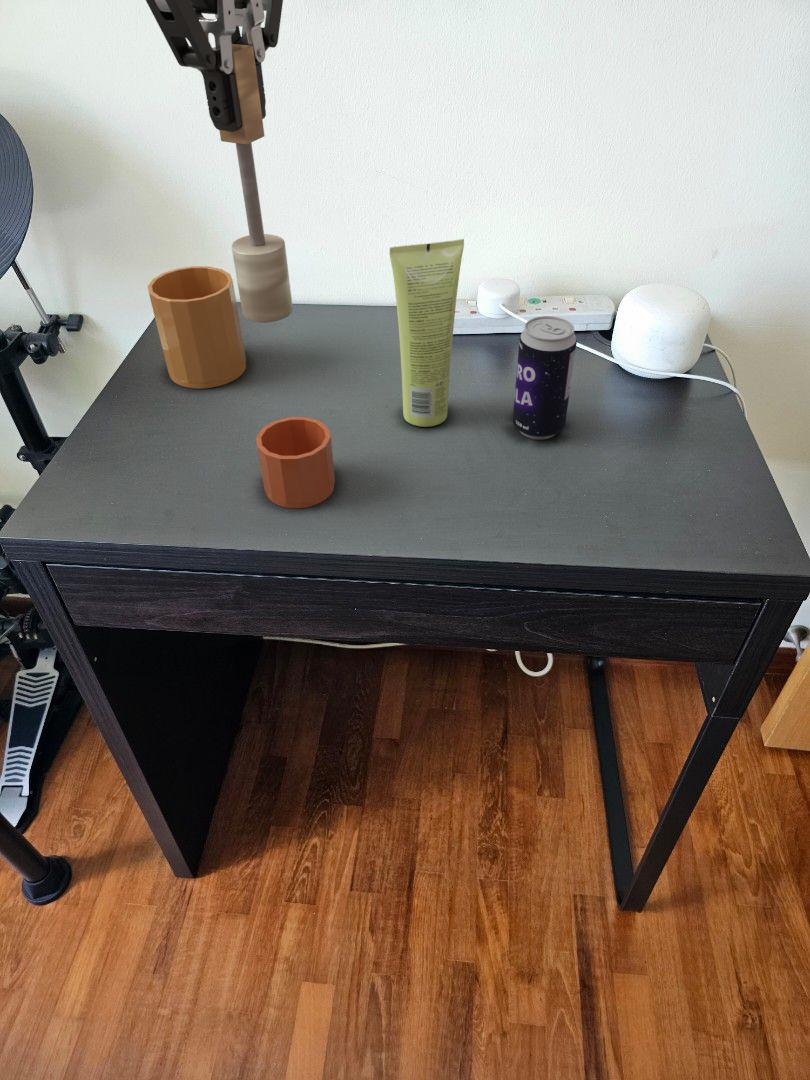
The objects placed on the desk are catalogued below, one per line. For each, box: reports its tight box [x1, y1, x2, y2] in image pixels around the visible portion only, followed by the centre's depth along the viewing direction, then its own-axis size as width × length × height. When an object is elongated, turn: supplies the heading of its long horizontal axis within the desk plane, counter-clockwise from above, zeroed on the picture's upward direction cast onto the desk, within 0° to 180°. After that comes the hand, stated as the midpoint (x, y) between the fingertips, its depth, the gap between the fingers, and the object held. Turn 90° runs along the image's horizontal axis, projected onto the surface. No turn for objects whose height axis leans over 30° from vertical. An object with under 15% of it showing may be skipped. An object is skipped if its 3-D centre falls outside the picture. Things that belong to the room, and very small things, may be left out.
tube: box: [389, 238, 465, 428], centre depth 82 cm, size 6×5×20 cm
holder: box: [255, 416, 336, 509], centre depth 77 cm, size 7×7×6 cm
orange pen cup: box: [147, 265, 247, 390], centre depth 94 cm, size 9×9×11 cm
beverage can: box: [512, 315, 578, 440], centre depth 82 cm, size 6×6×12 cm
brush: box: [212, 44, 294, 324], centre depth 63 cm, size 4×4×20 cm
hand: (240, 123), depth 59 cm, fingers closed on brush, 2 cm apart
